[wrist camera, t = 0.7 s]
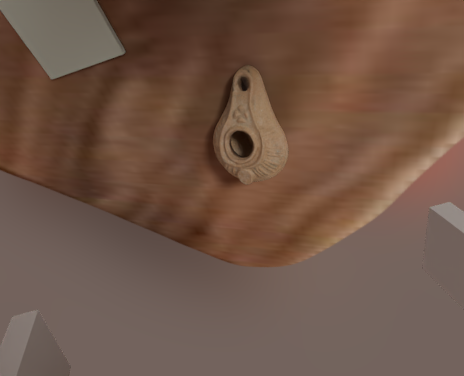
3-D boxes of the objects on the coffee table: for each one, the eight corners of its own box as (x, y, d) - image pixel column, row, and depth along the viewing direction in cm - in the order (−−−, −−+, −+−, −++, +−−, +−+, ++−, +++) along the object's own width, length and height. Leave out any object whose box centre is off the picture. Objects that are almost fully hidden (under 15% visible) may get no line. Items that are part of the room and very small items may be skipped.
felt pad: (-11, -12, 37) (-15, -10, 37) (68, -51, 34) (64, -49, 34) (53, 77, 44) (51, 79, 43) (125, 51, 40) (123, 54, 40)
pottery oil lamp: (293, 61, 39) (292, 96, 34) (287, 153, 47) (286, 192, 42) (209, 60, 40) (197, 94, 35) (218, 150, 48) (209, 188, 43)
